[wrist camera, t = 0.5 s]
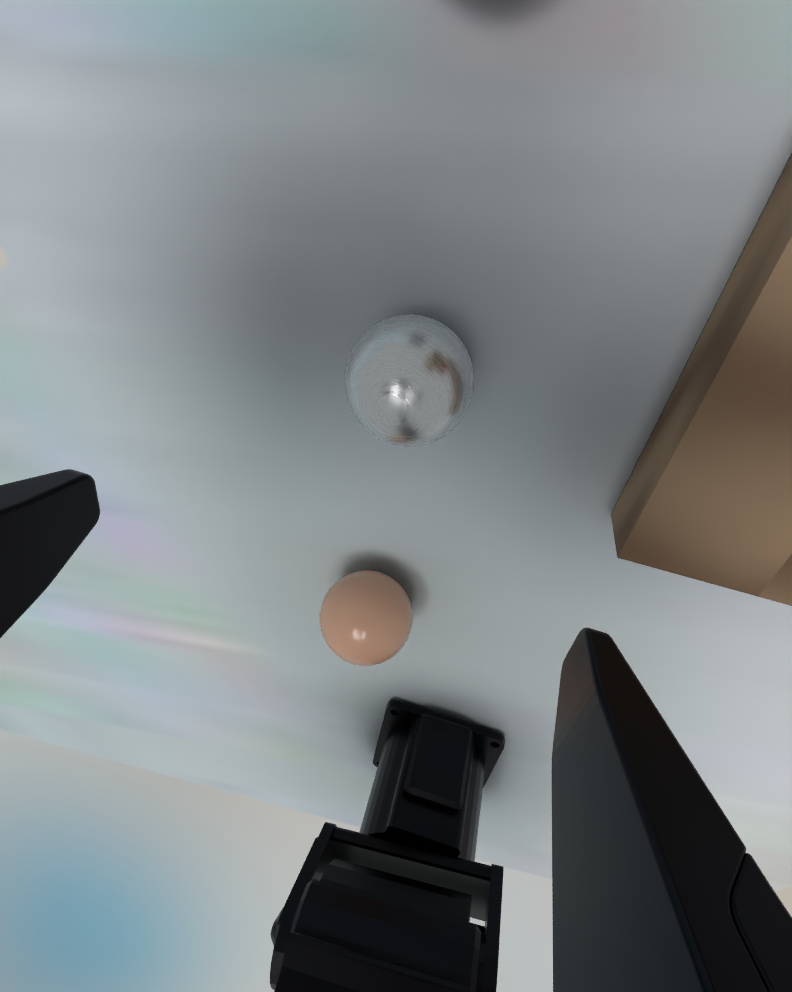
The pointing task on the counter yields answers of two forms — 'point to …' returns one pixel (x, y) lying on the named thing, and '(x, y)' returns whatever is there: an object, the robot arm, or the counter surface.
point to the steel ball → (409, 380)
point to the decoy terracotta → (366, 618)
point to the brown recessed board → (727, 435)
